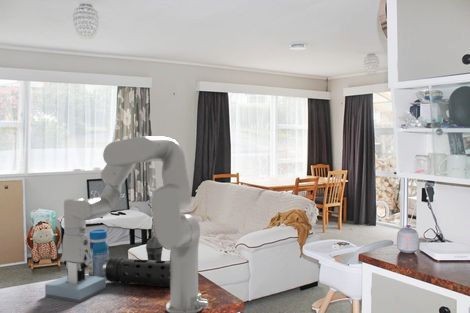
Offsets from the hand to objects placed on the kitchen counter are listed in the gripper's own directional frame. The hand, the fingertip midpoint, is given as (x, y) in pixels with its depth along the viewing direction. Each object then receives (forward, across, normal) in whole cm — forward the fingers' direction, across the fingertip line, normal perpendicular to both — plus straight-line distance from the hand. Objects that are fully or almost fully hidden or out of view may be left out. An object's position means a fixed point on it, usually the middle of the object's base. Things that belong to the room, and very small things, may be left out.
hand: (76, 279), depth 154 cm
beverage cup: (+5, -15, -30) cm, 34 cm away
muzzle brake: (+6, -17, -16) cm, 24 cm away
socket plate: (+5, 0, 0) cm, 5 cm away
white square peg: (+3, 0, 0) cm, 3 cm away
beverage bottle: (+5, +3, -16) cm, 17 cm away
